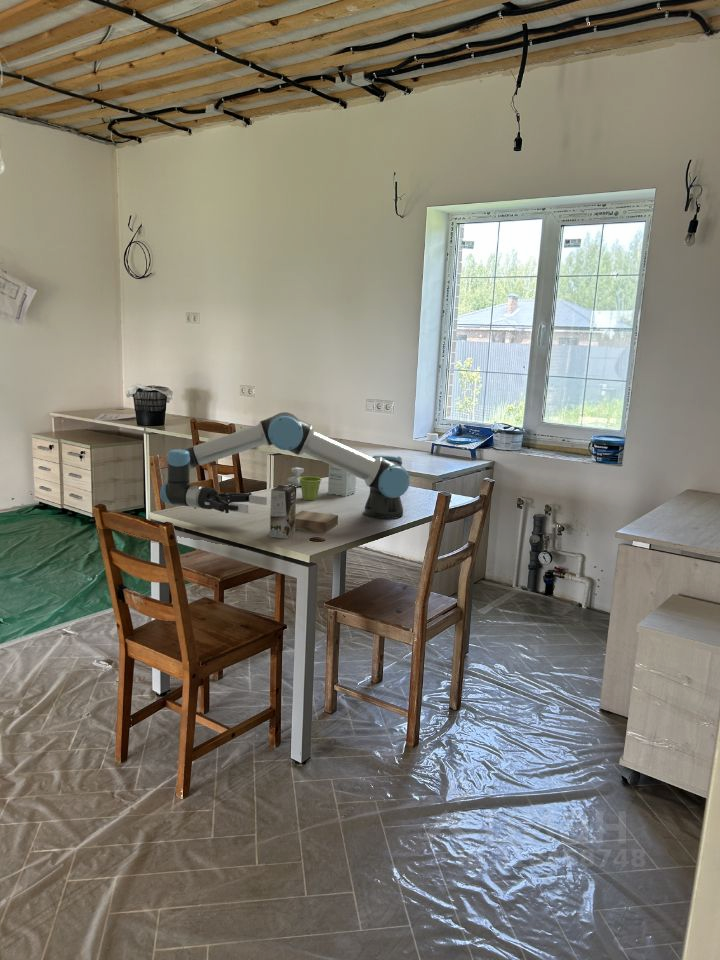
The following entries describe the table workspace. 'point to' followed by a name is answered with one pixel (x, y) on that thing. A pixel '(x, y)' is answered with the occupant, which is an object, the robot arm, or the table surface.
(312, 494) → the plant pot
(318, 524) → the walnut riser block
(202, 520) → the table surface
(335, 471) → the supplement box
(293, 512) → the coffee box
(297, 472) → the stamp
